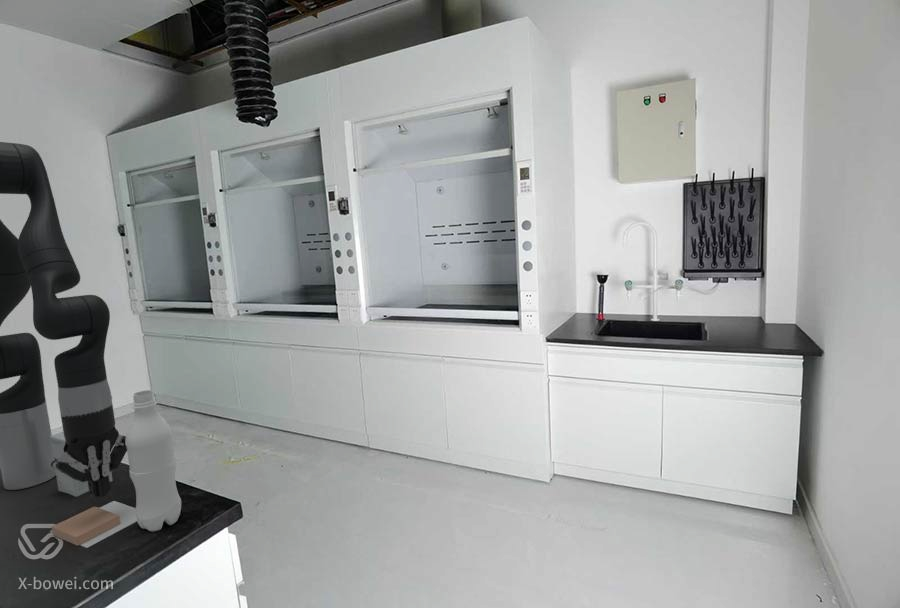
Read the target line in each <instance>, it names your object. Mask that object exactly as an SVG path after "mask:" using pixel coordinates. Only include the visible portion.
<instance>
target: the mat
mask: <svg viewBox="0 0 900 608" xmlns="http://www.w3.org/2000/svg"><path fill="white" fill-rule="evenodd" d="M99 508H100V509H103V510H106V511H109V512H111V513H114V514H117V515H119V516H120V523H121V524H119V525H117V526H115V527H113V528H111V529H109V530H107V531H105V532H103V533H101V534H99V535H98V536H96V537H94V538H92V539H90V540H88V541H86V542H84V543H82V544H80V545H79V546H81V547H83V548H86V549H87V548H90V547H92V546H94V545H95V544H97V543H100V542H101V541H103V540H104V539H106V538H108V537H110V536H112V535H114V534H116V533H118V532H120V531H122V530H124V529H125V528H127V527H129V526H131V525H133V524H135V523H136V522H137V518H136V513H135V510H136V507H133V506H130V505H127V504H124V503H122V502H118V501H115V500H113V501H111V502H109V503H107V504H104V505H102V506H100V507H99ZM137 523H138V522H137ZM49 533H50V534H53V533H52V530H50V531H49Z"/></svg>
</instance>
